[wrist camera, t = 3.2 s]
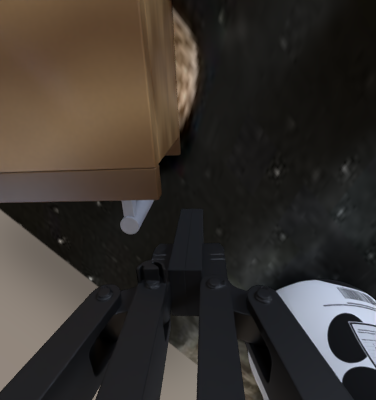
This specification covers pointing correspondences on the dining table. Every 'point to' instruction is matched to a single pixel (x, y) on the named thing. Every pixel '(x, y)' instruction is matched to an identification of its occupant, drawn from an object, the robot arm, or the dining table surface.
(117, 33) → the cabinet
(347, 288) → the doce de leite tub
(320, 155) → the dining table surface
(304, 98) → the dining table surface
